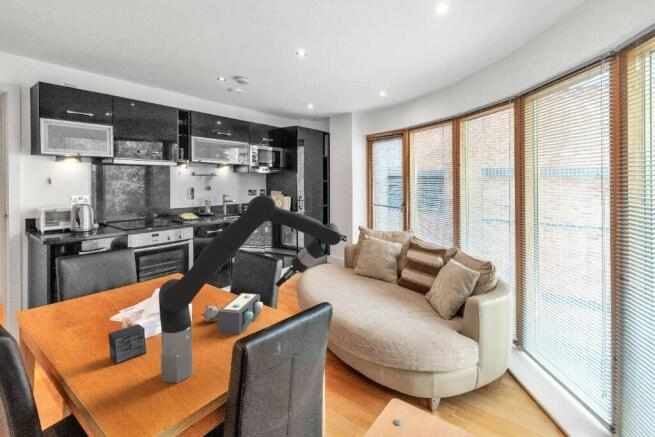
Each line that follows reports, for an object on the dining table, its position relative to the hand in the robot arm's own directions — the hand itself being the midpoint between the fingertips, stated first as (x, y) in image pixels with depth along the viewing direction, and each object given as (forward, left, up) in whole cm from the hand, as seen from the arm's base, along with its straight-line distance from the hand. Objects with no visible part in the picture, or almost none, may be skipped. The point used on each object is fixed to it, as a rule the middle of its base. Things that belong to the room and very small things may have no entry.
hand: (277, 285), depth 140 cm
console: (+6, +20, -22) cm, 30 cm away
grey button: (+12, +14, -18) cm, 26 cm away
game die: (+4, +34, -22) cm, 41 cm away
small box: (-30, +49, -22) cm, 62 cm away
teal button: (0, +14, -18) cm, 23 cm away
